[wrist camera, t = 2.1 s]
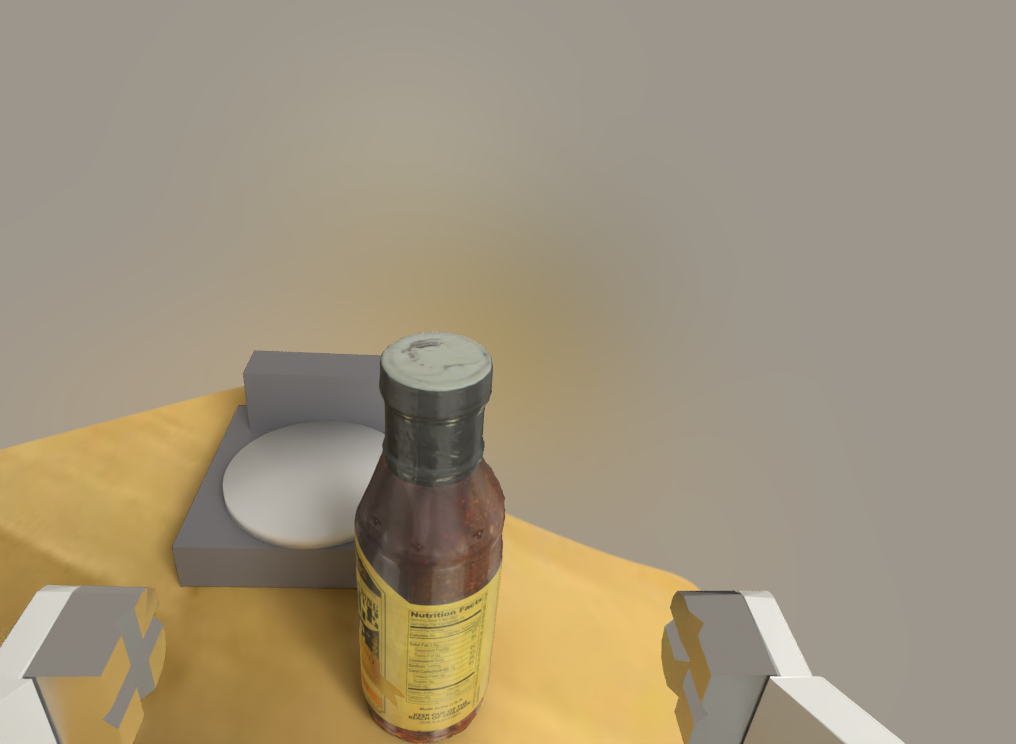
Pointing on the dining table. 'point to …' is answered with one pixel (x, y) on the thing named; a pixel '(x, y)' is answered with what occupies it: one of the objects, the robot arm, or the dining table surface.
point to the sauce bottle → (429, 542)
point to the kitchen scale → (288, 476)
